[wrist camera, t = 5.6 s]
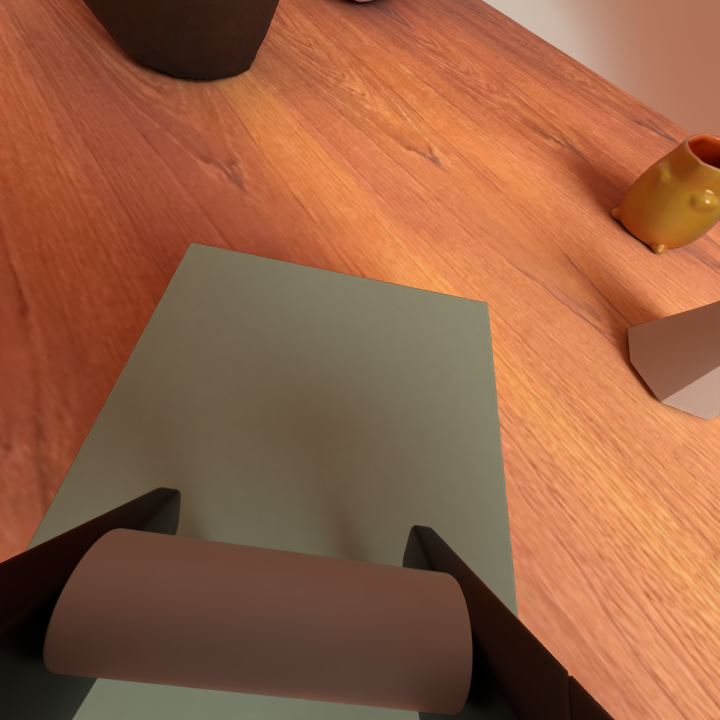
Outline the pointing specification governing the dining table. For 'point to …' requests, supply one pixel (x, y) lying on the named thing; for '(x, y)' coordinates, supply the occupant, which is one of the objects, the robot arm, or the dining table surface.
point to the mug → (675, 196)
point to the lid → (286, 501)
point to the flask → (681, 359)
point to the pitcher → (188, 33)
